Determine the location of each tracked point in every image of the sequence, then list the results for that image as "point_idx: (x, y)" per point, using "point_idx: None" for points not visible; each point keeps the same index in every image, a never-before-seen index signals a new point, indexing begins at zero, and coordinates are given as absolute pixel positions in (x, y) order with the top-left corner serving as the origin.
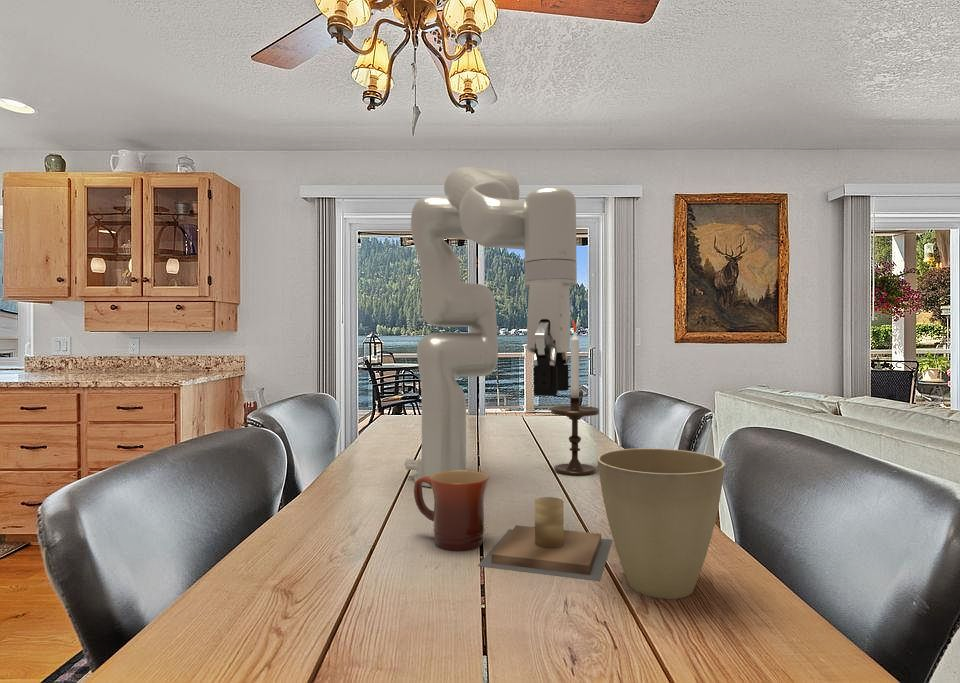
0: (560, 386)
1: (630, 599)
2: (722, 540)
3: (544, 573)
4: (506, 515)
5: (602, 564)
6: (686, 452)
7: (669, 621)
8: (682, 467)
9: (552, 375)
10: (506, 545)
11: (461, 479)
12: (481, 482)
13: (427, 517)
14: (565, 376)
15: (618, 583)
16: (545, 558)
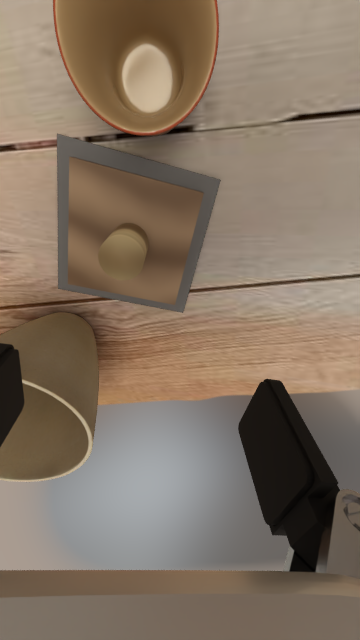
0: (249, 422)
1: (36, 309)
2: (197, 396)
3: (59, 232)
4: (306, 171)
5: (104, 295)
6: (78, 463)
7: (5, 330)
8: (84, 441)
9: None
10: (110, 179)
11: (201, 44)
12: (100, 117)
13: None
14: (251, 471)
15: (70, 303)
16: (75, 236)
